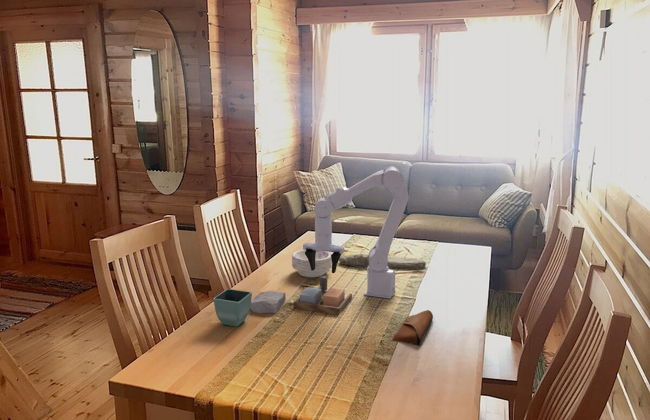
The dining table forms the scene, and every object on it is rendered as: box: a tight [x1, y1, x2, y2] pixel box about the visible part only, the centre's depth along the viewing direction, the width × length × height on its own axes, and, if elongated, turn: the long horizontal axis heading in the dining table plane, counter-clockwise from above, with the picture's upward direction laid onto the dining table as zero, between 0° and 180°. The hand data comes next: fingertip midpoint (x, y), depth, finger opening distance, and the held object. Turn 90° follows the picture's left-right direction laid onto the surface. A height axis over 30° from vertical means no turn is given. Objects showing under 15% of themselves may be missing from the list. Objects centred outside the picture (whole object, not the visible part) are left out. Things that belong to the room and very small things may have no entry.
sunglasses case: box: [391, 309, 434, 347], centre depth 152 cm, size 18×7×7 cm
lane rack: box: [293, 293, 353, 316], centre depth 172 cm, size 15×14×2 cm
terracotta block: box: [322, 287, 346, 307], centre depth 170 cm, size 5×7×4 cm
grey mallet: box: [299, 275, 328, 304], centre depth 175 cm, size 5×17×5 cm, turn 160°
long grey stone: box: [338, 253, 427, 270], centre depth 210 cm, size 35×5×10 cm
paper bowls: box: [291, 249, 332, 278], centre depth 200 cm, size 15×15×8 cm
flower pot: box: [212, 288, 253, 328], centre depth 157 cm, size 9×9×9 cm
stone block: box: [250, 290, 286, 314], centre depth 170 cm, size 12×5×10 cm
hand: (323, 271), depth 181 cm, fingers open, 7 cm apart
